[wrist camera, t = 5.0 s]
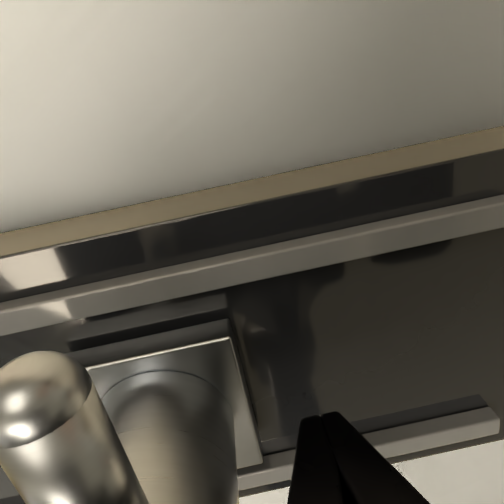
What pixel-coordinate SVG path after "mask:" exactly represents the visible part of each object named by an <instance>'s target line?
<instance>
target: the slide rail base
mask: <svg viewBox="0 0 504 504" xmlns="http://www.w3.org/2000/svg"><path fill="white" fill-rule="evenodd" d="M222 319H229V320H230V322H231V326H232V330H233V334H234V338H235V342H236V346H237V350H238V353H239V357H240V361H241V365H242V369H243V373H244V377H245V381H246V385H247V388H248V392H249V396H250V400H251V404H252V408H253V412H254V416H255V420H256V424H257V427H258V431H259V435H260V440H261V447H262V454H263V463H261V464H257V465H252V466H247V467H243V468H238V469H237V478H238V493H239V498H240V497H244V496H249V495H253V494H258V493H262V492H267V491H271V490H276V489H280V488H285V487H289V486H290V483H291V477H292V470H293V464H294V458H295V451H296V445H297V438H298V432H299V426H300V421H301V419H302V418H305V417H309V416H314V415H318V416H320V415H321V414H324V413H328V412H333V411H337V412H339V413H340V414H341V415H342V416H343V417H344V418H345V419H346V420H347V421H348V422H349V423H350V424H351V425H352V426H353V427H354V428H355V429H356V430H357V431H358V432H359V433H360V434H361V435H362V436H363V437H364V438H365V439H366V440H367V441H368V442H369V443H370V444H371V445H372V446H373V447H374V448H375V449H376V450H377V451H378V452H379V453H380V454H381V455H382V456H383V457H384V458H385V459H386V460H387V461H388V462H389V463H390V464H394V463H398V462H403V461H407V460H412V459H417V458H421V457H426V456H430V455H435V454H439V453H444V452H448V451H453V450H457V449H462V448H466V447H471V446H476V445H480V444H485V443H489V442H494V441H498V440H503V439H504V126H500V127H495V128H490V129H486V130H481V131H476V132H472V133H467V134H462V135H458V136H453V137H448V138H444V139H439V140H434V141H429V142H425V143H420V144H415V145H411V146H406V147H401V148H397V149H392V150H387V151H383V152H378V153H373V154H369V155H364V156H359V157H355V158H350V159H345V160H341V161H336V162H331V163H327V164H322V165H317V166H312V167H308V168H303V169H298V170H294V171H289V172H284V173H280V174H275V175H270V176H266V177H261V178H256V179H252V180H247V181H242V182H238V183H233V184H228V185H224V186H219V187H214V188H209V189H205V190H200V191H195V192H191V193H186V194H181V195H177V196H172V197H167V198H163V199H158V200H153V201H149V202H144V203H139V204H135V205H130V206H125V207H121V208H116V209H111V210H107V211H102V212H97V213H92V214H88V215H83V216H78V217H74V218H69V219H64V220H60V221H55V222H50V223H46V224H41V225H36V226H32V227H27V228H22V229H18V230H13V231H8V232H4V233H0V368H1V367H3V366H4V365H5V364H7V363H8V362H10V361H11V360H13V359H15V358H17V357H19V356H21V355H24V354H27V353H31V352H35V351H56V352H60V353H64V354H65V353H70V352H74V351H79V350H84V349H88V348H93V347H97V346H102V345H107V344H111V343H116V342H121V341H125V340H130V339H134V338H139V337H144V336H148V335H153V334H157V333H162V332H167V331H171V330H176V329H181V328H185V327H190V326H194V325H199V324H204V323H208V322H213V321H218V320H222ZM0 504H26V503H25V502H24V500H23V499H22V497H21V496H20V494H19V493H18V491H17V490H16V488H15V487H14V485H13V484H12V482H11V481H10V479H9V478H8V476H7V475H6V473H5V472H4V470H3V469H2V467H1V465H0Z"/></svg>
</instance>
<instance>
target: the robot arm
mask: <svg viewBox="0 0 504 504" xmlns="http://www.w3.org/2000/svg"><path fill="white" fill-rule="evenodd" d="M287 504H430V503H429V502H428V501H427V500H426V499H425V498H424V497H423V496H422V495H421V494H420V493H419V492H418V491H417V490H416V489H415V488H414V487H413V486H412V485H411V484H410V483H409V482H408V481H407V480H406V479H405V478H404V477H403V476H402V475H401V474H400V473H399V472H398V471H397V470H396V469H395V468H394V467H393V466H392V465H391V464H390V463H389V462H388V461H387V460H386V459H385V458H384V457H383V456H382V455H381V454H380V453H379V452H378V451H377V450H376V449H375V448H374V447H373V446H372V445H371V444H370V443H369V442H368V441H367V440H366V439H365V438H364V437H363V436H362V435H361V434H360V433H359V432H358V431H357V430H356V429H355V428H354V427H353V426H352V425H351V424H350V423H349V422H348V421H347V420H346V419H345V418H344V417H343V416H342V415H341V414H340V413H339V412H337V411H333V412H328V413H324V414H321V415H320V416H318V415H314V416H309V417H305V418H302V419H301V421H300V426H299V432H298V438H297V445H296V451H295V458H294V464H293V470H292V477H291V483H290V490H289V496H288V502H287Z"/></svg>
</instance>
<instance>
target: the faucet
mask: <svg viewBox="0 0 504 504" xmlns="http://www.w3.org/2000/svg"><path fill="white" fill-rule="evenodd" d="M261 463H263V454H262V447H261V440H260V435H259V431H258V427H257V424H256V420H255V416H254V412H253V408H252V404H251V400H250V396H249V392H248V388H247V385H246V381H245V377H244V373H243V369H242V365H241V361H240V357H239V353H238V350H237V346H236V342H235V338H234V334H233V330H232V326H231V322H230V320H229V319H222V320H218V321H213V322H208V323H204V324H199V325H194V326H190V327H185V328H181V329H176V330H171V331H167V332H162V333H157V334H153V335H148V336H144V337H139V338H134V339H130V340H125V341H121V342H116V343H111V344H107V345H102V346H97V347H93V348H88V349H84V350H79V351H74V352H70V353H65V354H64V353H60V352H56V351H35V352H31V353H27V354H24V355H21V356H19V357H17V358H15V359H13V360H11V361H10V362H8V363H7V364H5V365H4V366H3V367H1V368H0V465H1V467H2V469H3V470H4V472H5V473H6V475H7V476H8V478H9V479H10V481H11V482H12V484H13V485H14V487H15V488H16V490H17V491H18V493H19V494H20V496H21V497H22V499H23V500H24V502H25V503H26V504H239V493H238V478H237V469H238V468H243V467H247V466H252V465H257V464H261Z"/></svg>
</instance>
